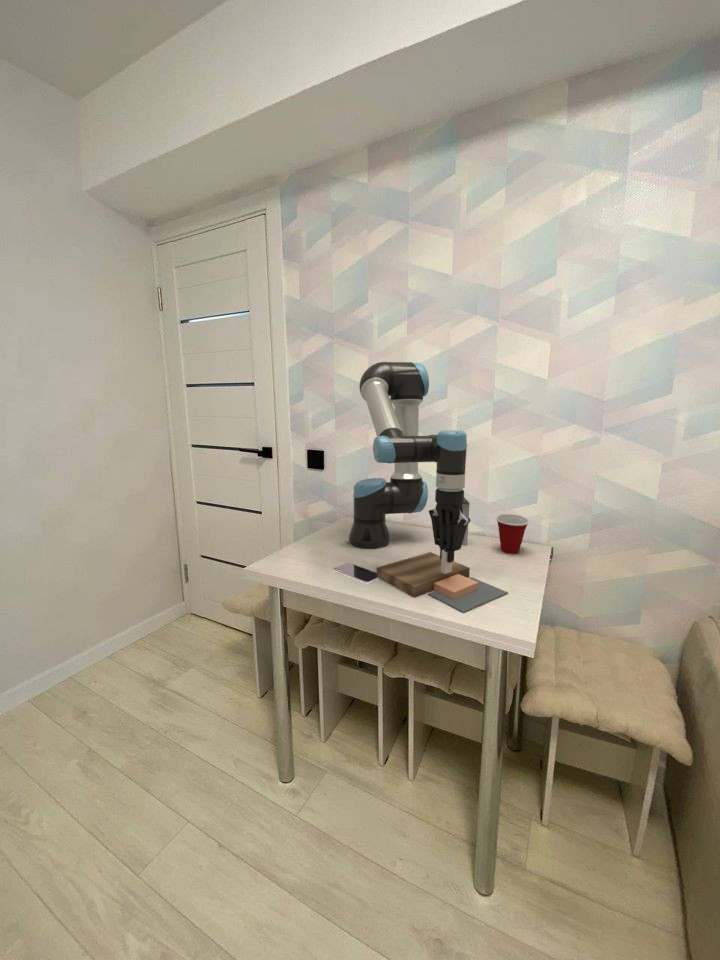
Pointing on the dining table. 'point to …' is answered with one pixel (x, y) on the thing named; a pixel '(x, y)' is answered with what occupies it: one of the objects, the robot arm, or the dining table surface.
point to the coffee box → (466, 513)
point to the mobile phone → (357, 572)
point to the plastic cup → (511, 531)
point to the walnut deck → (418, 573)
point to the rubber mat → (471, 597)
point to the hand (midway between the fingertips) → (446, 571)
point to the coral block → (455, 586)
